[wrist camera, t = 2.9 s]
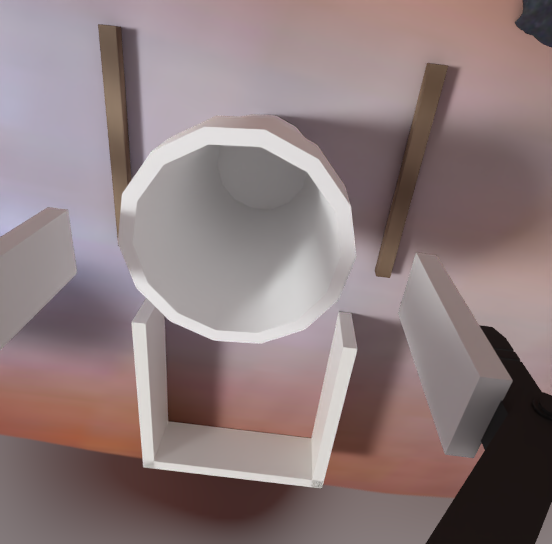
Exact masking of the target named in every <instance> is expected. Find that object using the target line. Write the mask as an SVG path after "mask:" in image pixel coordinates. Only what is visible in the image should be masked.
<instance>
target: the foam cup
mask: <svg viewBox="0 0 552 544" xmlns="http://www.w3.org/2000/svg"><path fill="white" fill-rule="evenodd" d="M118 245H119V247H120V250H121V252H122V255H123V257H124V259H125V262H126V264H127V267H128V269H129V272H130V274H131V277H132V279H133V281H134V284H135V286H136V288H137V289H138V290H139V291H140V292H141V293H142V294H143V295H144V296H145V297H146V298H147V299H148V300H149V301H150V302H151V303H152V304H153V305H154V306H155V307H156V308H157V309H158V310H159V311H160V312H161V313H162V314H163V315H164V316H165V317H166V318H167V319H168V320H169V321H170V322H173V323H175V324H177V325H180V326H182V327H184V328H186V329H189V330H191V331H193V332H195V333H198V334H200V335H202V336H205V337H207V338H209V339H211V340H214V341H227V342H243V343H258V344H261V343H264V342H267V341H271V340H274V339H277V338H280V337H283V336H287V335H290V334H293V333H296V332H299V331H303V330H305V329H306V328H307V327H308V326H309V325H311V324H312V323H313V322H314V321H315V320H316V319H318V318H319V317H320V316H321V315H322V314H323V313H324V312H326V311H327V310H328V309H329V308H330V307H331V306H332V305H334V304H335V303H336V302H337V301H338V300H339V298H340V296H341V293H342V291H343V288H344V286H345V284H346V281H347V279H348V276H349V274H350V271H351V269H352V266H353V264H354V262H355V259H356V248H355V239H354V230H353V221H352V212H351V205H350V201H349V198H348V194H347V191H346V187H345V185H344V184H343V182H342V181H341V179H340V178H339V176H338V175H337V173H336V172H335V170H334V169H333V167H332V166H331V165H330V163H329V162H328V160H327V159H326V157H325V156H324V154H323V153H322V151H321V150H320V148H319V147H318V145H317V144H315V143H313V142H312V141H310V140H308V139H306V138H305V137H304V136H303V135H302V134H301V132H300V131H299V130H298V129H297V127H295V126H294V125H292V124H290V123H288V122H287V121H285V120H283V119H281V118H279V117H278V116H276V115H257V114H251V115H246V116H241V117H234V116H214V117H212V118H210V119H208V120H206V121H204V122H202V123H200V124H198V125H195V126H193V127H191V128H189V129H187V130H185V131H183V132H181V133H178V134H176V135H174V136H172V137H170V138H169V139H167V140H166V141H165V142H163V143H162V144H161V145H159V146H158V147H157V148H155V149H154V150H153V151H151V153H150V154H149V156H148V157H147V159H146V160H145V162H144V163H143V164H142V166H141V167H140V169H139V170H138V172H137V173H136V174H135V176H134V177H133V179H132V180H131V182H130V183H129V185H128V186H127V187H126V189H125V190H124V192H123V193H122V199H121V211H120V223H119V235H118Z"/></svg>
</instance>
